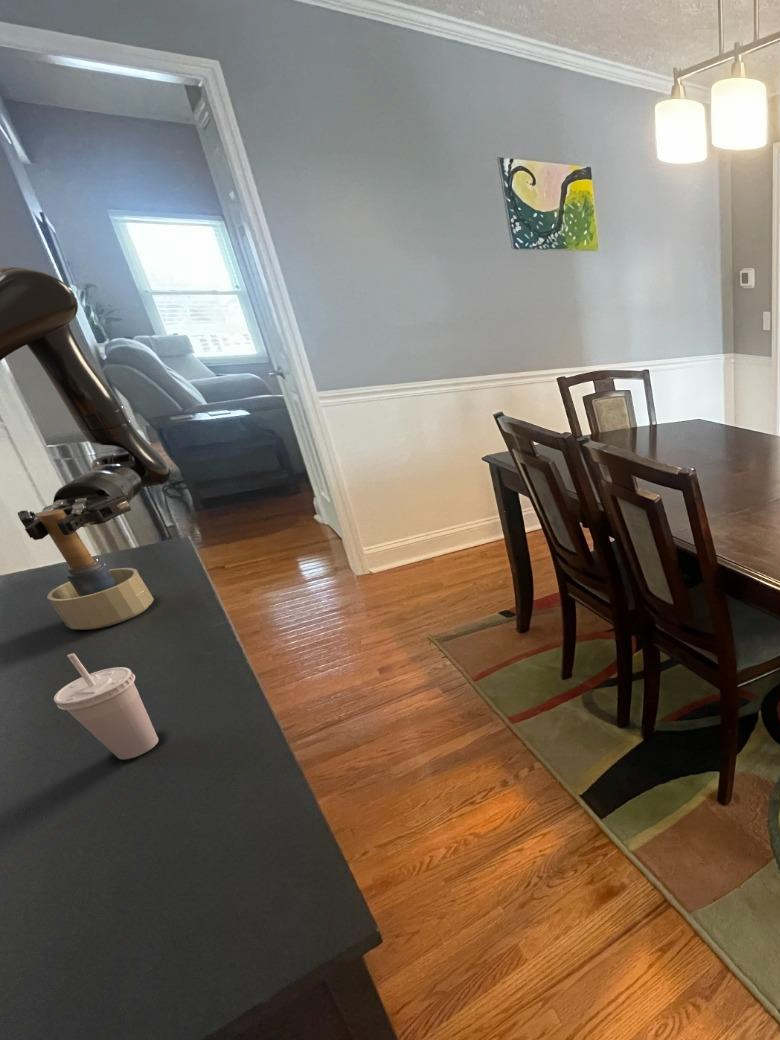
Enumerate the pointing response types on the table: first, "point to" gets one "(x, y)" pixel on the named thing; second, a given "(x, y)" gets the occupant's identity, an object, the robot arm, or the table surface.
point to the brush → (77, 557)
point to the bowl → (102, 602)
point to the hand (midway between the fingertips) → (48, 531)
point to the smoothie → (109, 709)
